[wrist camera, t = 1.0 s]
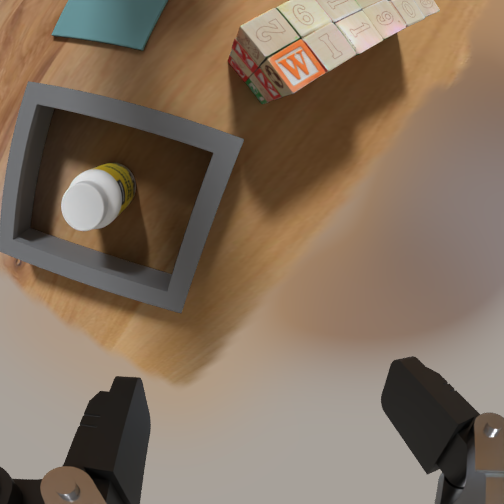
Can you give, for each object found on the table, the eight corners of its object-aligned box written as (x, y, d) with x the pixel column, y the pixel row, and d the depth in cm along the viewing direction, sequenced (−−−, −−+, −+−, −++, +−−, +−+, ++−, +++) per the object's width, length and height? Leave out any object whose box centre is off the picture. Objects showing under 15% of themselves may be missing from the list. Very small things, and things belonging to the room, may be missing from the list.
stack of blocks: (368, -11, 25) (424, -46, 14) (396, 28, 27) (460, 6, 16) (225, 62, 28) (238, 24, 16) (261, 106, 30) (293, 94, 19)
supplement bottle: (146, 193, 32) (124, 218, 23) (108, 219, 32) (77, 252, 23) (120, 151, 29) (88, 161, 20) (83, 179, 30) (42, 200, 21)
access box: (23, 233, 30) (-1, 251, 25) (54, 86, 25) (28, 81, 19) (183, 285, 36) (181, 313, 31) (237, 137, 31) (244, 139, 25)
